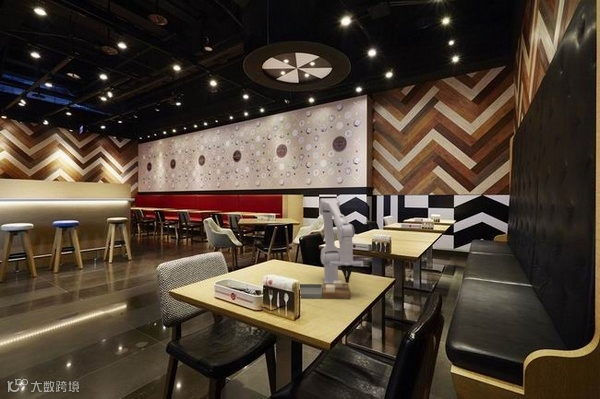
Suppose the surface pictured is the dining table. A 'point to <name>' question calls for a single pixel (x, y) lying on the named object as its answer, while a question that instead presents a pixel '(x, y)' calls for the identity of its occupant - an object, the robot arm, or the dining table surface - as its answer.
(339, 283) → the tile
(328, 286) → the tile
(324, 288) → the plate
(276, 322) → the dining table surface
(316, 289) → the tray
